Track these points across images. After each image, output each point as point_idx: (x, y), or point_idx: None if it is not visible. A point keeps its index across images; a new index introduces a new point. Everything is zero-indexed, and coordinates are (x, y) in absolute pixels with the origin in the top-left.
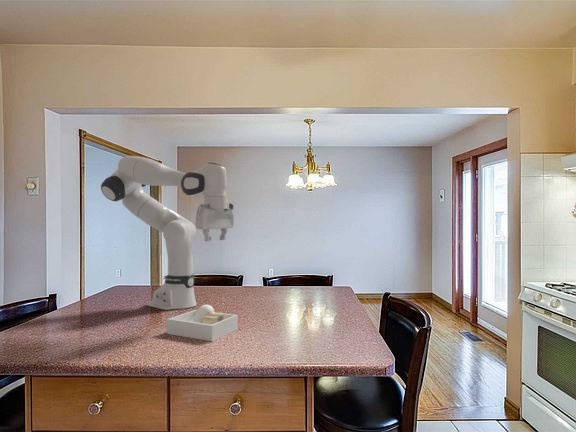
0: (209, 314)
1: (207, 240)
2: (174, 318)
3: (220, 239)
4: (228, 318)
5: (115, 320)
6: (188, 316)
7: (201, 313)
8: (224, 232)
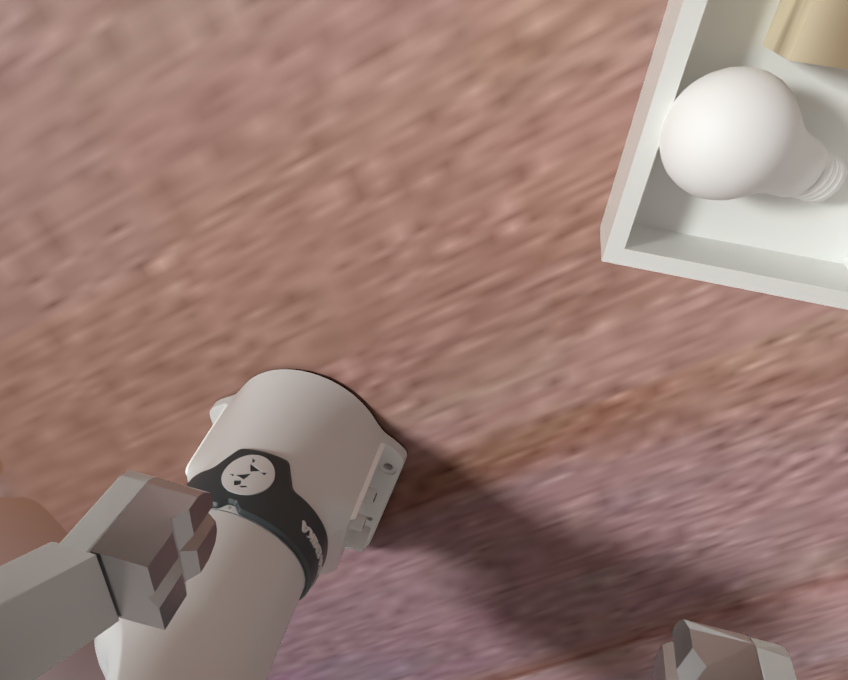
0: (836, 60)
1: (778, 670)
2: (836, 287)
3: (210, 538)
4: None
5: (621, 553)
6: (695, 253)
7: (802, 139)
8: (1, 633)
